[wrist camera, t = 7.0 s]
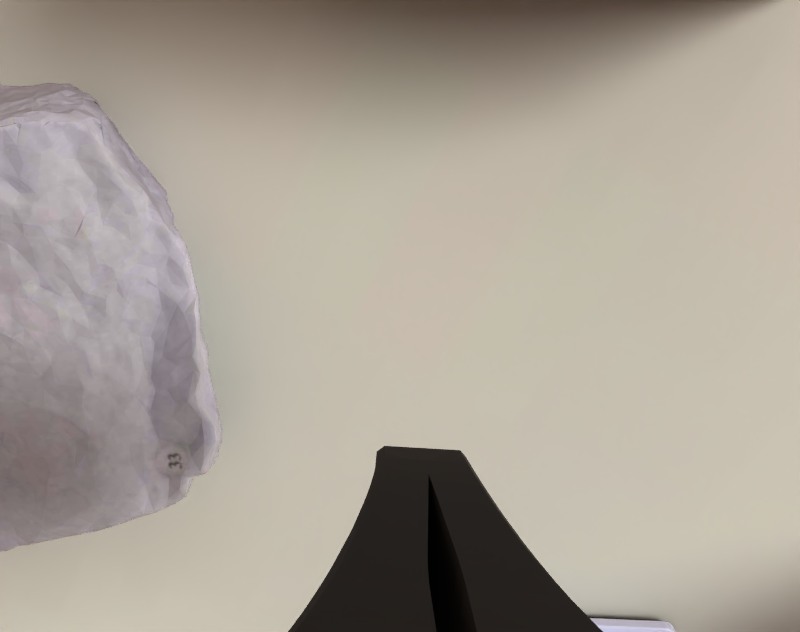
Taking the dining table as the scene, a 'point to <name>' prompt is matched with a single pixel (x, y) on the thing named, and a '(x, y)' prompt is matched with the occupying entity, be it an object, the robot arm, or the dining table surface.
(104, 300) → the stone block
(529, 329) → the dining table surface
